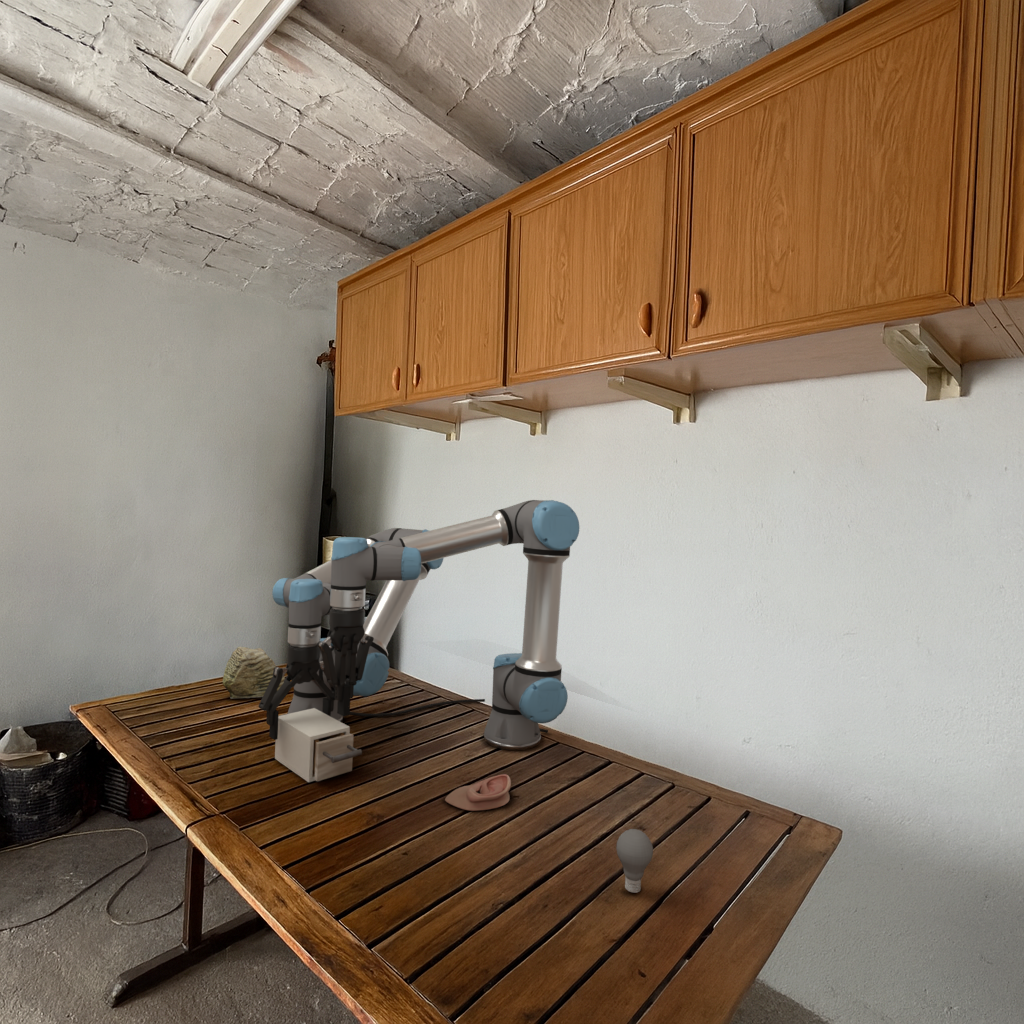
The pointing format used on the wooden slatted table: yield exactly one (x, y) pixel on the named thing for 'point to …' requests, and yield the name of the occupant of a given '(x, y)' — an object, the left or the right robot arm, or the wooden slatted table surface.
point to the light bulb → (634, 857)
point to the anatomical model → (482, 794)
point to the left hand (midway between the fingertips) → (300, 731)
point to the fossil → (248, 673)
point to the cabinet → (303, 739)
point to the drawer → (333, 755)
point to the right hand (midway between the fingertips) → (343, 713)
